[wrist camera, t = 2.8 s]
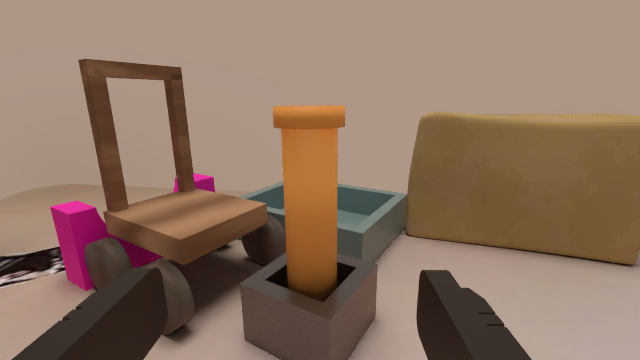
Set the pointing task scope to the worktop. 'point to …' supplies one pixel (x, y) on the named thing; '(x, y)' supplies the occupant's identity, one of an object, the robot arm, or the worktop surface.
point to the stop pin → (310, 195)
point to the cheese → (529, 182)
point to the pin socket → (309, 312)
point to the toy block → (98, 235)
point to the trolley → (166, 200)
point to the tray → (352, 217)
